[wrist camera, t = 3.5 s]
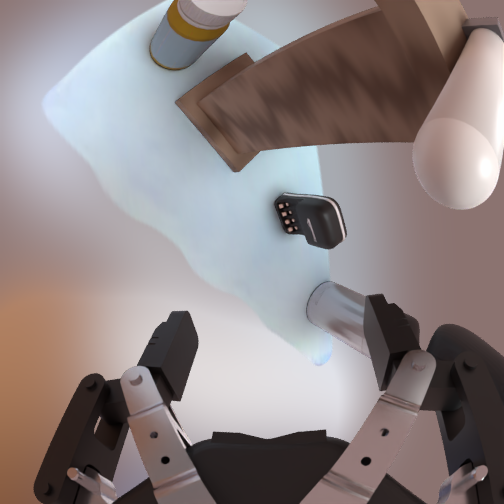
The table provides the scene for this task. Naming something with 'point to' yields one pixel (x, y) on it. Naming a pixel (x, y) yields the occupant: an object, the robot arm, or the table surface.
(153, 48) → the bottle
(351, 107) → the pedestal
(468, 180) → the hammer
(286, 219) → the battery charger
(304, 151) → the table surface
